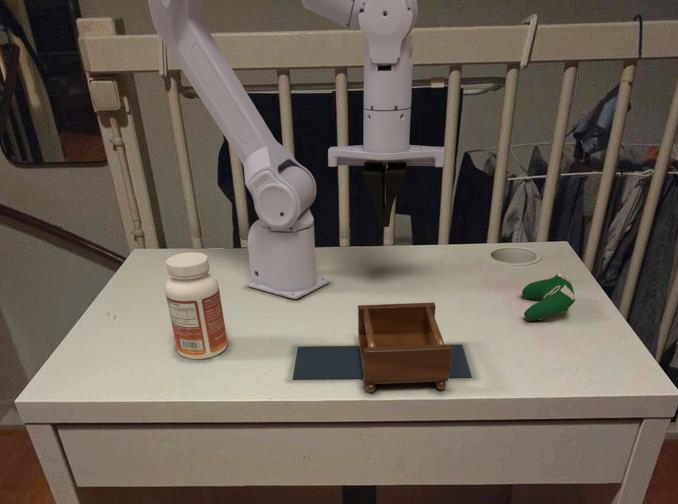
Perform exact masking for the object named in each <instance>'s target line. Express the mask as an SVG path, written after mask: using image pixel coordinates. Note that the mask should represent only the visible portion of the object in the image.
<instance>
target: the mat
mask: <svg viewBox="0 0 678 504" xmlns="http://www.w3.org/2000/svg"><path fill="white" fill-rule="evenodd" d="M450 345H451V347H452V356H451V366H450V376H449V377H448V379H472V378H473V376H472V373H471V369H470V366H469V362H468V360H467V356H466V353H465V349H464V345H463V344H461V343H460V344H458V343H457V344H450ZM295 356H296V357H295V361H294V368H293V375H292V380H294V381H295V380H296V381H297V380H298V381H299V380H304V381H305V380H364V378H363V371H362V363H361V356H360V348H359V345H318V346H317V345H316V346H315V345H314V346H313V345H312V346H311V345H309V346H308V345H307V346H302V345H301V346H297V350H296V355H295Z"/></svg>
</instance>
